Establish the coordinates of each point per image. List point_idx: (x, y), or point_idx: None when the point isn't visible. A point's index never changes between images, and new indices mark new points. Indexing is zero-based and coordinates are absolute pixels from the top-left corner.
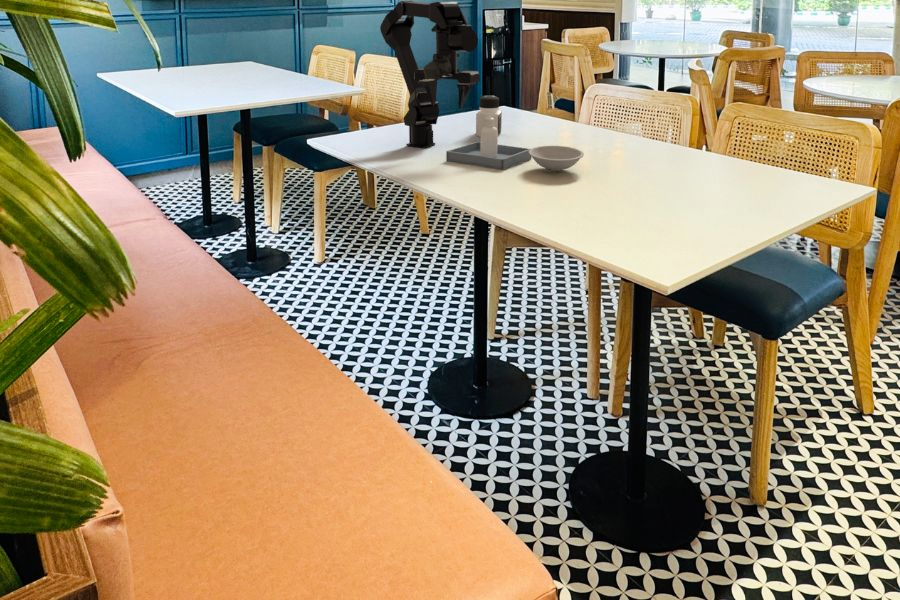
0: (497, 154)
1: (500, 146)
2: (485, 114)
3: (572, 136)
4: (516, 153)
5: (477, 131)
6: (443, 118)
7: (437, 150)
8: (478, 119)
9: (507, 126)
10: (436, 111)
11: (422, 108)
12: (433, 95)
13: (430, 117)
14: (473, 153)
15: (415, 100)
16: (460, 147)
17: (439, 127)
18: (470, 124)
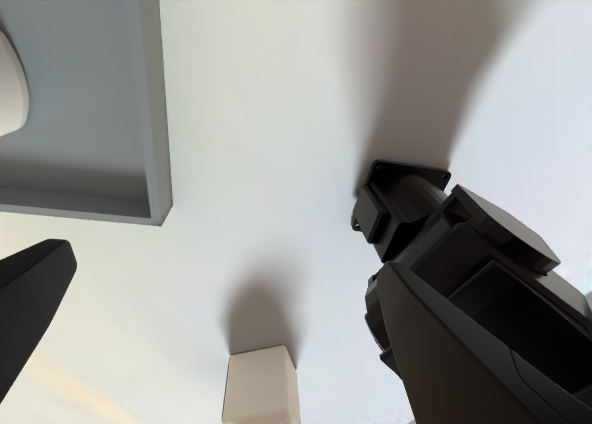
0: (17, 148)
1: (28, 203)
2: (259, 414)
3: (86, 409)
4: None
5: (281, 356)
6: (412, 413)
7: (311, 155)
8: (280, 392)
9: None
10: (375, 304)
11: (468, 259)
12: (428, 361)
13: (394, 261)
14: (115, 120)
15: (570, 305)
16: (136, 76)
17: None
18: (344, 403)
